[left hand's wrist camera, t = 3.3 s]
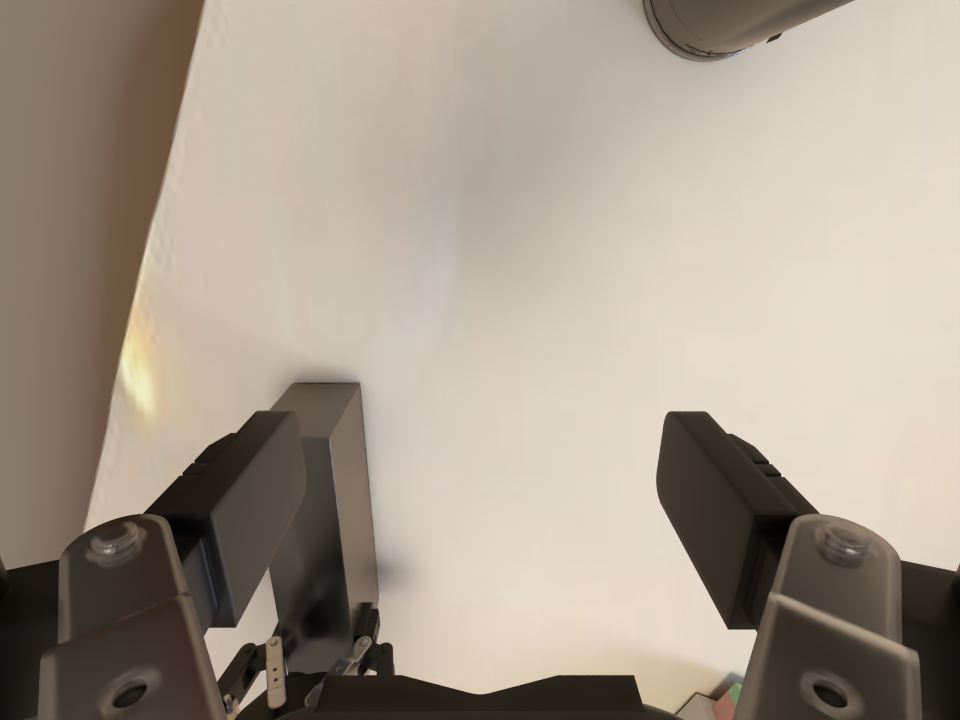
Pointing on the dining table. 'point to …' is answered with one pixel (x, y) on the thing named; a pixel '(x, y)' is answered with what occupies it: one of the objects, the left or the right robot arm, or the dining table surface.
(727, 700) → the decorative block
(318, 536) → the bar
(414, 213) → the dining table surface
